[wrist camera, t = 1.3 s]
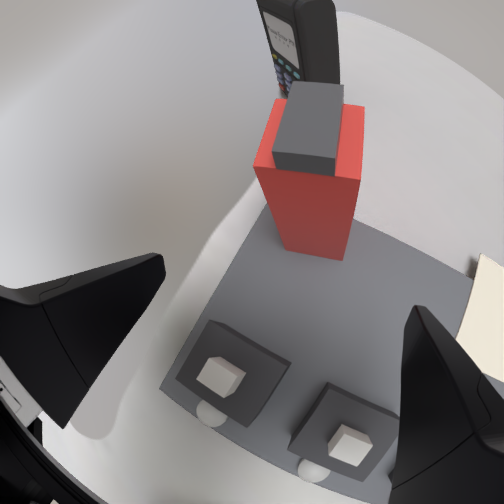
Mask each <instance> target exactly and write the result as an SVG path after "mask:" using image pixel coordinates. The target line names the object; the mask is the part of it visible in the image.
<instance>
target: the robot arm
mask: <svg viewBox="0 0 504 504" xmlns="http://www.w3.org/2000/svg"><path fill="white" fill-rule="evenodd" d="M165 276H166V271H165V265H164V259H163V256H162V255H161V254H157V253H149V254H146V255H142V256H138V257H134V258H131V259H127V260H123V261H120V262H116V263H112V264H109V265H105V266H101V267H98V268H94V269H91V270H88V271H84V272H80V273H77V274H74V275H70V276H66V277H63V278H59V279H56V280H52V281H48V282H45V283H40V284H36V285H32V286H28V287H24V288H19V289H11V288H7V287H4V286H1V285H0V504H50V503H51V502H52V500H53V499H54V500H55V501H56V502H57V503H59V504H108V503H107V502H105V501H104V500H103V499H101V498H100V497H98V496H97V495H96V494H95V493H93V492H92V491H91V490H89V489H88V488H87V487H86V486H84V485H83V484H82V483H81V482H80V481H78V480H77V479H76V478H75V477H74V476H73V475H72V474H70V473H69V472H68V471H67V470H66V469H65V468H64V467H63V466H62V465H61V464H60V463H59V462H57V461H56V460H55V459H54V458H53V457H52V456H51V455H50V454H49V453H48V452H47V451H46V449H45V448H44V447H43V445H42V421H41V420H40V419H39V418H38V417H37V416H38V415H39V414H40V413H41V412H42V411H44V412H45V413H46V414H47V415H48V416H49V417H50V418H51V419H52V420H53V421H54V422H55V423H56V424H57V425H58V426H59V427H61V428H62V429H64V428H65V426H66V425H67V423H68V422H69V420H70V418H71V417H72V415H73V414H74V412H75V411H76V409H77V407H78V406H79V404H80V403H81V401H82V400H83V398H84V397H85V395H86V394H87V392H88V391H89V388H90V387H91V386H92V384H93V383H94V382H95V380H96V379H97V377H98V376H99V374H100V373H101V371H102V370H103V368H104V367H105V365H106V364H107V363H108V361H109V360H110V358H111V357H112V355H113V354H114V353H115V351H116V350H117V348H118V347H119V345H120V344H121V343H122V341H123V340H124V339H125V337H126V336H127V334H128V333H129V332H130V330H131V329H132V328H133V326H134V325H135V323H136V322H137V321H138V319H139V318H140V317H141V315H142V314H143V313H144V311H145V310H146V309H147V307H148V305H149V304H150V302H151V301H152V299H153V297H154V296H155V294H156V292H157V291H158V289H159V287H160V286H161V284H162V283H163V281H164V279H165ZM388 504H504V399H503V398H502V397H501V395H500V394H499V393H498V392H497V391H496V389H495V388H494V387H493V385H492V384H491V383H490V382H489V380H488V379H487V378H486V376H485V375H484V374H483V373H482V371H481V370H480V369H479V367H478V366H477V365H476V364H475V362H474V361H473V360H472V359H471V357H470V356H469V355H468V354H467V353H466V351H465V350H464V349H463V348H462V347H461V345H460V344H459V343H458V342H457V341H456V340H455V338H454V337H453V336H452V335H451V334H450V333H449V332H448V330H447V329H446V328H445V327H444V326H443V325H442V324H441V323H440V321H439V320H438V319H437V318H436V317H435V316H434V315H433V314H432V313H431V312H430V311H429V309H428V308H427V307H426V306H422V305H414V306H413V307H412V309H411V312H410V314H409V317H408V319H407V321H406V324H405V327H404V336H403V351H402V362H401V397H400V420H399V434H398V444H397V454H396V462H395V469H394V475H393V481H392V487H391V492H390V497H389V501H388Z"/></svg>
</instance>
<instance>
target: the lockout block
mask: <svg viewBox="0 0 504 504" xmlns="http://www.w3.org/2000/svg"><path fill="white" fill-rule="evenodd" d="M364 108H365V107H362V106H356V105H349V104H344V85H339V84H330V83H318V82H301V81H293V82H292V86H291V89H290V92H289V95H288V99H276V100H275V102H274V105H273V108H272V111H271V114H270V117H269V120H268V123H267V125H266V128H265V131H264V134H263V137H262V140H261V143H260V146H259V149H258V152H257V155H256V158H255V161H254V164H253V168H254V170H255V173H256V175H257V178H258V180H259V183H260V185H261V188H262V190H263V193H264V195H265V198H266V200H267V203H268V205H269V208H270V211H271V213H272V216H273V218H274V221H275V223H276V226H277V229H278V231H279V234H280V237H281V239H282V242H283V245H284V247H285V250H287V251H292V252H297V253H303V254H308V255H313V256H318V257H324V258H329V259H334V260H339V261H343V258H344V254H345V250H346V246H347V242H348V238H349V233H350V229H351V225H352V220H353V216H354V211H355V206H356V202H357V197H358V192H359V186H360V181H361V171H362V157H363V140H364Z"/></svg>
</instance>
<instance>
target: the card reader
mask: <svg viewBox="0 0 504 504" xmlns="http://www.w3.org/2000/svg"><path fill="white" fill-rule="evenodd" d="M256 1H257V4H258V8H259V11H260V14H261V18H262V21H263V25H264V28H265V32H266V35H267V39H268V43H269V46H270V50H271V54H272V58H273V62H274V67H275V69H276V74H277V80H278V81H279V87H280V88H281V89H282V90H283V91H284V92H285V94H286V95H287V96H288V95H289V92H290V89H291V86H292V82H293V81H301V82H318V83H330V84H339V85H340V63H339V45H338V31H337V19H336V10H335V5H334V3H333V1H332V0H256Z"/></svg>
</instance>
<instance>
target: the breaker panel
mask: <svg viewBox="0 0 504 504" xmlns="http://www.w3.org/2000/svg"><path fill="white" fill-rule="evenodd" d="M414 305H422V306H426V307H427V308H428V309H429V311H430V312H431V313H432V314H433V315H434V316H435V317H436V318H437V319H438V320H439V321H440V323H441V324H442V325H443V326H444V327H445V328H446V329H447V330H448V332H449V333H450V334H451V335H452V336H453V337H454V338H455V340H456V341H457V342H458V343H459V344H460V345H461V347H462V348H463V349H464V350H465V351H466V353H467V354H468V355H469V356H470V357H471V359H472V360H473V361H474V362H475V364H476V365H477V366H478V367H479V369H480V370H481V371H482V373H483V374H484V375H485V376H486V378H487V379H488V380H489V382H490V383H491V384H492V385H493V387H494V388H495V389H496V391H497V392H498V393H499V394H500V395H501V397H502V398H503V399H504V268H503V267H502V266H500V265H499V264H497V263H496V262H494V261H492V260H491V259H489V258H488V257H486V256H484V255H483V254H481V253H480V255H479V260H478V265H477V269H476V273H475V277H474V280H472V279H471V278H469V277H467V276H465V275H464V274H462V273H460V272H458V271H457V270H455V269H453V268H451V267H449V266H448V265H446V264H444V263H442V262H440V261H438V260H437V259H435V258H433V257H431V256H429V255H427V254H425V253H423V252H421V251H419V250H417V249H415V248H413V247H411V246H409V245H407V244H405V243H403V242H401V241H399V240H397V239H395V238H393V237H391V236H389V235H387V234H385V233H383V232H381V231H379V230H377V229H374V228H372V227H370V226H368V225H366V224H364V223H361V222H359V221H357V220H355V219H353V220H352V225H351V229H350V233H349V238H348V242H347V246H346V250H345V254H344V258H343V261H339V260H334V259H329V258H324V257H318V256H313V255H308V254H303V253H297V252H292V251H287V250H285V247H284V245H283V242H282V239H281V237H280V234H279V231H278V229H277V226H276V223H275V221H274V218H273V216H272V213H271V211H270V208H269V205H268V203H267V204H266V205H265V207H264V209H263V210H262V212H261V214H260V216H259V217H258V219H257V221H256V222H255V224H254V226H253V227H252V229H251V231H250V232H249V234H248V236H247V237H246V239H245V241H244V242H243V244H242V246H241V247H240V249H239V251H238V253H237V254H236V256H235V258H234V259H233V261H232V263H231V264H230V266H229V268H228V270H227V271H226V273H225V275H224V276H223V278H222V280H221V281H220V283H219V285H218V287H217V288H216V290H215V292H214V293H213V295H212V297H211V299H210V300H209V302H208V304H207V306H206V307H205V309H204V311H203V312H202V314H201V316H200V318H199V319H198V321H197V323H196V325H195V326H194V328H193V330H192V331H191V333H190V335H189V337H188V338H187V340H186V342H185V344H184V345H183V347H182V349H181V351H180V352H179V354H178V356H177V358H176V359H175V361H174V363H173V365H172V366H171V368H170V370H169V372H168V374H167V375H166V377H165V379H164V381H163V382H162V384H161V386H160V388H159V389H160V390H161V391H163V392H164V393H165V394H166V395H167V396H169V397H170V398H171V399H172V400H174V401H175V402H176V403H178V404H179V405H180V406H182V407H183V408H184V409H185V410H187V411H188V412H190V413H191V414H192V415H194V416H195V417H196V418H198V419H199V420H200V421H201V422H202V423H203V424H204V425H206V426H209V427H211V428H212V429H214V430H215V431H217V432H218V433H220V434H221V435H223V436H224V437H226V438H228V439H229V440H231V441H232V442H234V443H236V444H237V445H239V446H241V447H242V448H244V449H246V450H247V451H249V452H251V453H253V454H254V455H256V456H258V457H260V458H262V459H263V460H265V461H267V462H269V463H271V464H273V465H275V466H277V467H279V468H281V469H283V470H285V471H287V472H289V473H291V474H293V475H295V476H298V477H300V478H301V479H302V480H304V481H306V482H311V483H314V484H316V485H318V486H321V487H323V488H326V489H328V490H331V491H334V492H337V493H339V494H342V495H345V496H348V497H351V498H354V499H357V500H360V501H364V502H367V503H370V504H388V501H389V497H390V492H391V487H392V481H393V475H394V469H395V462H396V454H397V444H398V434H399V420H400V397H401V362H402V351H403V336H404V327H405V324H406V321H407V319H408V317H409V314H410V312H411V309H412V307H413V306H414Z"/></svg>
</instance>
